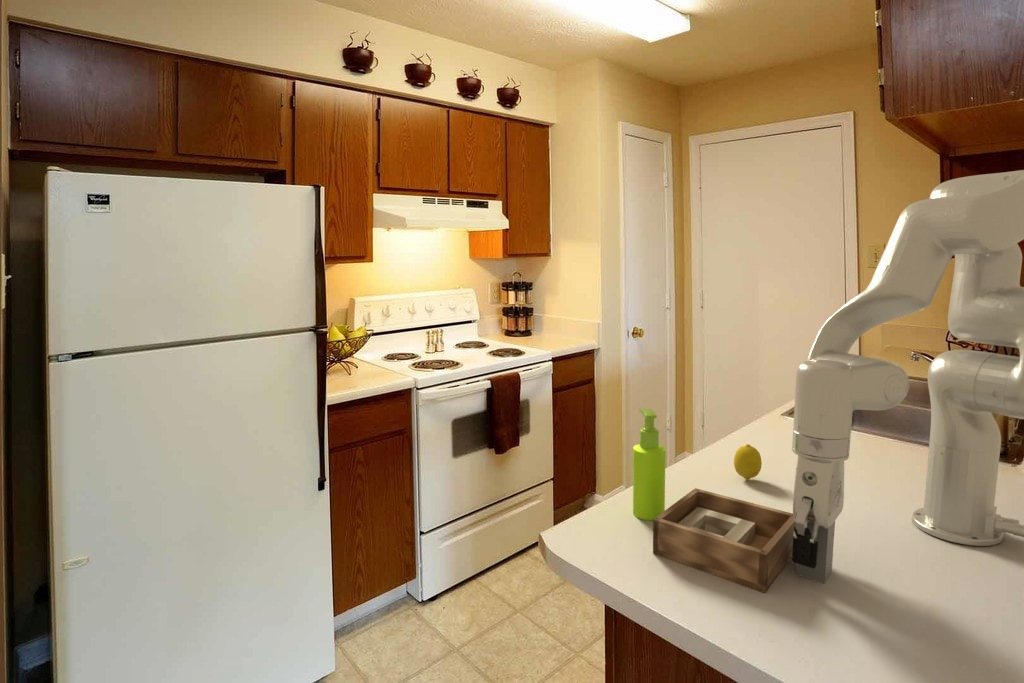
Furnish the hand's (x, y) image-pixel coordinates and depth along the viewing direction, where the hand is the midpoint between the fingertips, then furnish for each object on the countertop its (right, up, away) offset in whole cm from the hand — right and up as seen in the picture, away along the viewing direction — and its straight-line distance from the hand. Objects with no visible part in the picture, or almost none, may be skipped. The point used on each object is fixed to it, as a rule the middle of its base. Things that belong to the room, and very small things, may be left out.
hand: (813, 551), depth 88 cm
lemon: (+5, +2, +37) cm, 37 cm away
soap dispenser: (-20, -1, +23) cm, 30 cm away
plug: (0, -4, +1) cm, 4 cm away
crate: (-11, -3, +8) cm, 13 cm away
